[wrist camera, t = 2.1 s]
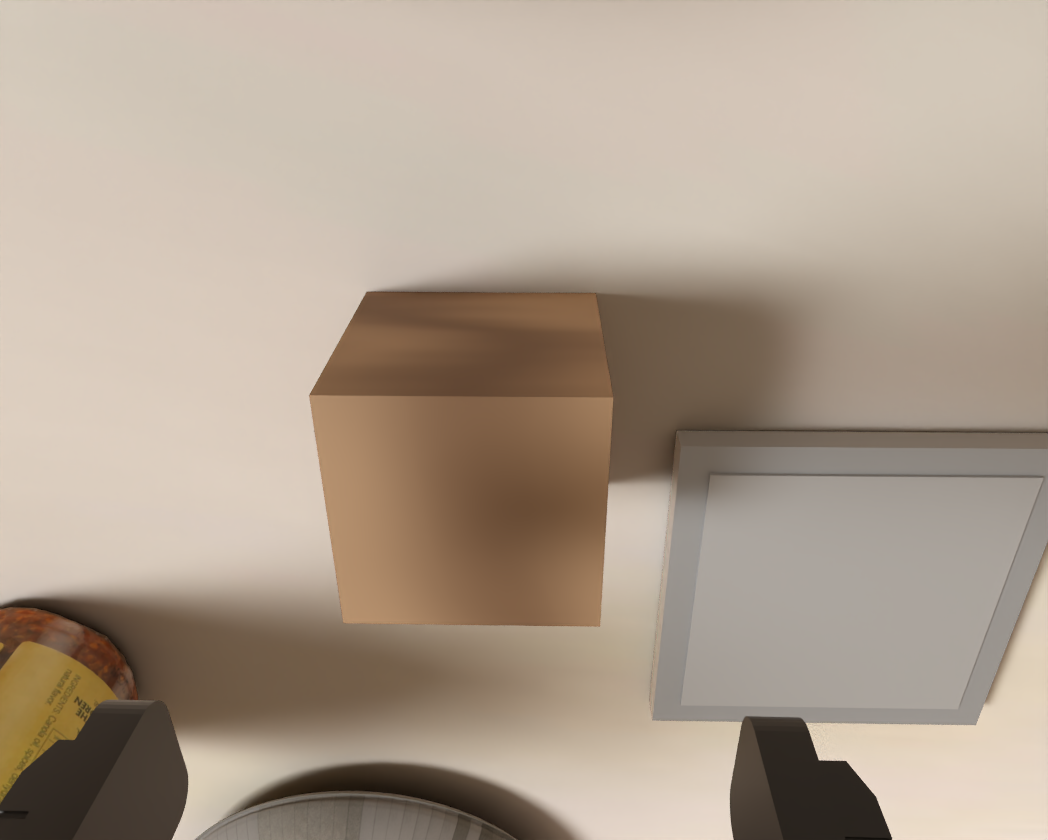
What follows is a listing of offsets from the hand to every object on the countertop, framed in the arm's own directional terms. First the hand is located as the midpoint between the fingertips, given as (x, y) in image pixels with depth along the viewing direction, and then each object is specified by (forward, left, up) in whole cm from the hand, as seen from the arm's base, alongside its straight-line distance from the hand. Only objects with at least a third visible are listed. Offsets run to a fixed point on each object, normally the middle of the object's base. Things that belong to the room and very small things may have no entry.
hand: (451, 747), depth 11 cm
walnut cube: (0, 0, -11) cm, 11 cm away
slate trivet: (+10, -6, -11) cm, 16 cm away
